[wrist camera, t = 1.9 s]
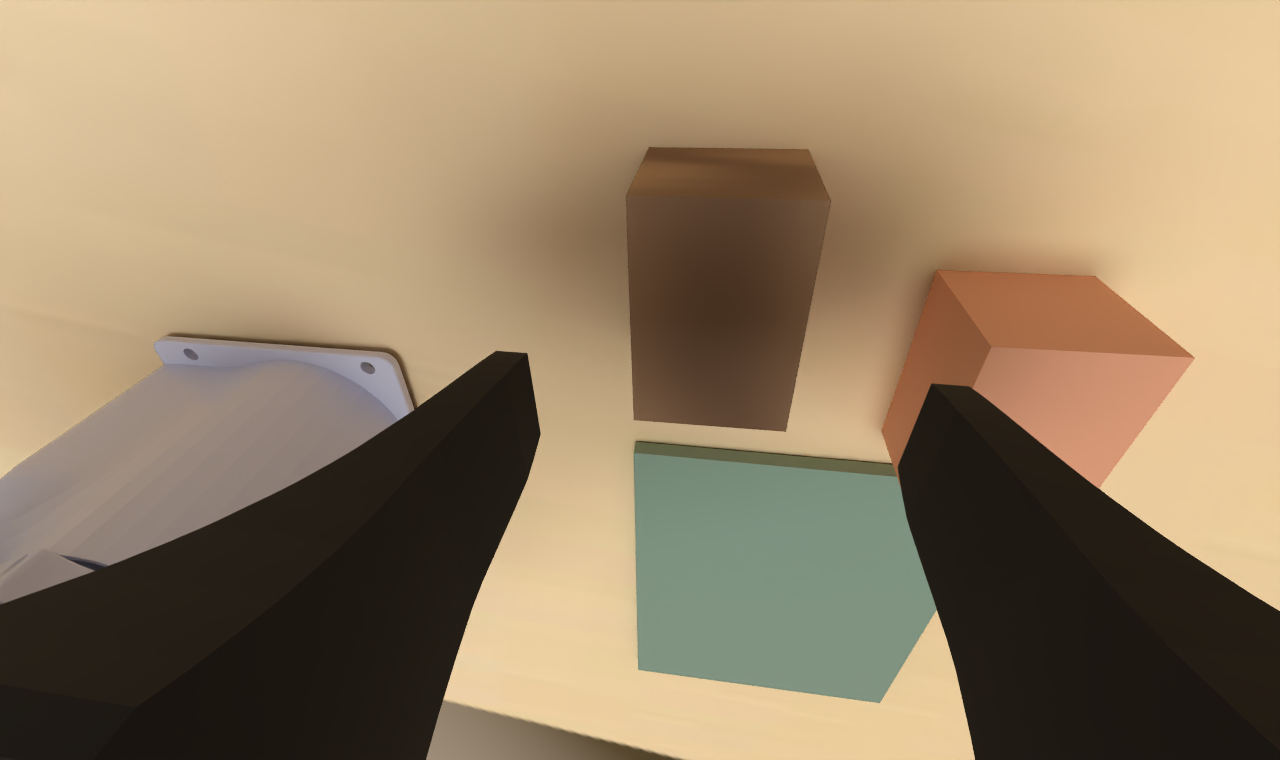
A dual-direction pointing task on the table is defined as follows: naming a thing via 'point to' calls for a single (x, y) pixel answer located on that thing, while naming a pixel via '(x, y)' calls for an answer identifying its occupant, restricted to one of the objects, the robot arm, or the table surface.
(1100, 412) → the terracotta brick
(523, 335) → the table surface
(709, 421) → the walnut brick
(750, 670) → the baseplate
